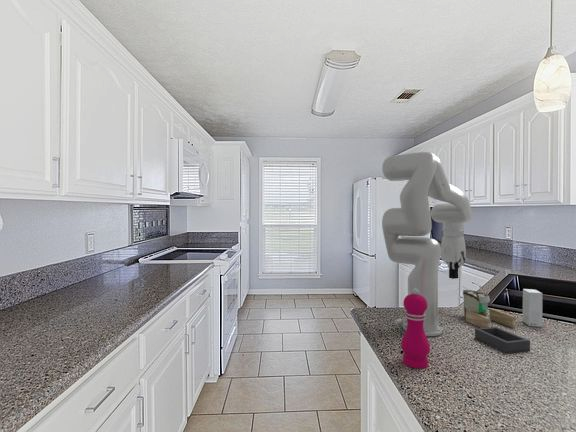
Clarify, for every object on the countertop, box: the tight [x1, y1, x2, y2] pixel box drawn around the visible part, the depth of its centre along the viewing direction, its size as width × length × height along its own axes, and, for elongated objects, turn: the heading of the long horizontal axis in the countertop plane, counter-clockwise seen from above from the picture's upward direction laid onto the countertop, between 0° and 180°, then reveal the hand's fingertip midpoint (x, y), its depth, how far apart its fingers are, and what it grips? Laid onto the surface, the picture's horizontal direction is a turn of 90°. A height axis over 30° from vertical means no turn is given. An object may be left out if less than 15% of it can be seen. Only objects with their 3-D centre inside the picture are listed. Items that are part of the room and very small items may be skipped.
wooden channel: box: [465, 307, 516, 329], centre depth 120 cm, size 11×10×4 cm
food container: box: [462, 289, 491, 318], centre depth 125 cm, size 12×6×10 cm, turn 179°
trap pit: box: [474, 326, 531, 354], centre depth 102 cm, size 8×12×3 cm, turn 12°
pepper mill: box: [400, 288, 431, 370], centre depth 89 cm, size 7×7×20 cm
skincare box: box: [522, 288, 543, 328], centre depth 120 cm, size 6×4×12 cm
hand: (453, 278), depth 139 cm, fingers closed
